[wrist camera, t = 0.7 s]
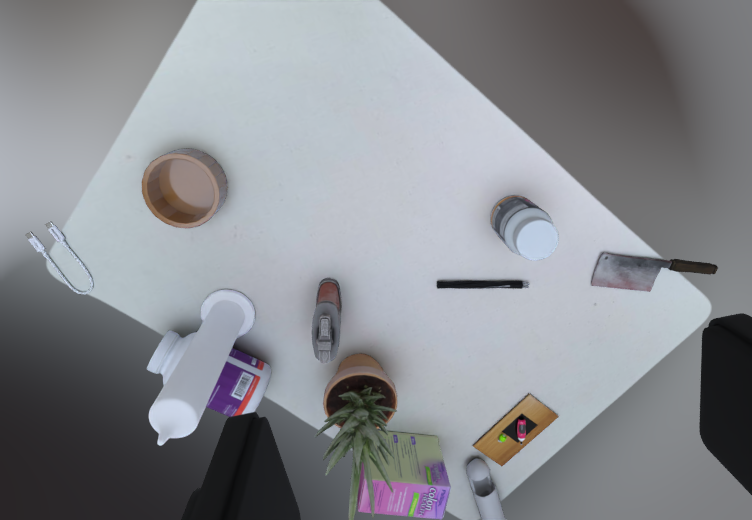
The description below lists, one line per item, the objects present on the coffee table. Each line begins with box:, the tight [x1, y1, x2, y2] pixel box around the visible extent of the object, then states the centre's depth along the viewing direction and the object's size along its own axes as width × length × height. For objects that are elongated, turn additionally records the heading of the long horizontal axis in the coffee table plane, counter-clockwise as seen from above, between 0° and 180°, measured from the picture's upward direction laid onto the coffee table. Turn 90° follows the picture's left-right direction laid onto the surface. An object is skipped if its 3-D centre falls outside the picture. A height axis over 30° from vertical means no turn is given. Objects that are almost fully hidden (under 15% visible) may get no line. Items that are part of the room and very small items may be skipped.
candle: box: [149, 289, 255, 446], centre depth 54 cm, size 7×7×25 cm
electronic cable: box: [26, 222, 93, 294], centre depth 62 cm, size 4×10×1 cm, turn 26°
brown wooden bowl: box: [142, 148, 228, 228], centre depth 58 cm, size 9×9×4 cm
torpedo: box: [467, 459, 507, 520], centre depth 76 cm, size 18×5×7 cm, turn 18°
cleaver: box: [592, 253, 718, 292], centre depth 66 cm, size 16×1×5 cm
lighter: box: [312, 278, 341, 363], centre depth 62 cm, size 8×3×10 cm, turn 177°
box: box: [358, 430, 451, 519], centre depth 70 cm, size 10×6×12 cm
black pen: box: [437, 281, 529, 289], centre depth 66 cm, size 12×1×1 cm
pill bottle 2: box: [491, 195, 559, 260], centre depth 58 cm, size 6×6×10 cm
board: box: [473, 394, 559, 466], centre depth 74 cm, size 6×12×2 cm, turn 140°
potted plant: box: [315, 354, 397, 520], centre depth 59 cm, size 10×10×25 cm
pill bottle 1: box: [147, 330, 271, 417], centre depth 65 cm, size 8×8×14 cm
